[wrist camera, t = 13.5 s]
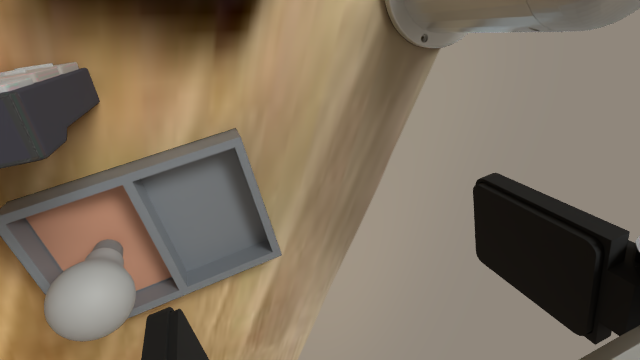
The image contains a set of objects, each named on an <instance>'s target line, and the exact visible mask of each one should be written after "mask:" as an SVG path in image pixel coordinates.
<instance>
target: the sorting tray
mask: <svg viewBox="0 0 640 360" xmlns="http://www.w3.org/2000/svg"><path fill="white" fill-rule="evenodd" d="M0 236H1V237H2V238H3V240H4V241H5V242H6V244H7V245H8V246H9V248H10V249H11V250H12V252H13V253H14V254H15V255H16V257H17V258H18V259H19V261H20V262H21V263H22V265H23V266H24V267H25V269H26V270H27V271H28V273H29V274H30V275H31V276H32V278H33V279H34V280H35V282H36V283H37V284H38V286H39V287H40V288H41V290H42V291H43V292H44V293H45V295H46V293H47V291H48V289H49V288H50V286H51V284H52V282H53V281H54V280H55V279H56V278H57V277H58V276H59V275H60V274H61V273H62V272H64V271H65V270H66V269H68V268H70V267H72V266H74V265H76V264H78V263H80V262H83V261H85V259H86V257H87V256H88V255H89V254H90V253H91V252H92V250H93V248H94V247H95V245H96V244H97V243H98V242H100V241H102V240H106V239H111V240H115V241H117V242H119V243H120V244H121V245H122V247H123V260H124V268H125V269H126V271H127V272H128V273H129V274H130V275H131V277H132V279H133V281H134V284H135V289H136V300H135V304H134V307H133V310H132V311H131V313H130V315H129V317H128V318H130V317H132V316H135V315H137V314H140V313H142V312H145V311H147V310H150V309H152V308H154V307H157V306H159V305H162V304H164V303H167V302H169V301H171V300H174V299H176V298H179V297H181V296H184V295H186V294H189V293H191V292H193V291H196V290H198V289H201V288H203V287H206V286H208V285H210V284H213V283H215V282H218V281H220V280H223V279H225V278H228V277H230V276H232V275H235V274H237V273H240V272H242V271H245V270H247V269H249V268H252V267H254V266H257V265H259V264H262V263H264V262H267V261H269V260H271V259H274V258H276V257H279V256H281V255H282V254H281V251H280V248H279V245H278V243H277V240H276V237H275V234H274V231H273V228H272V225H271V222H270V220H269V217H268V214H267V211H266V208H265V205H264V202H263V200H262V197H261V194H260V191H259V188H258V185H257V182H256V180H255V177H254V174H253V171H252V168H251V165H250V162H249V160H248V157H247V154H246V151H245V148H244V145H243V142H242V140H241V137H240V135H239V133H238V131H237V129H236V128H234V129H231V130H228V131H225V132H222V133H219V134H216V135H213V136H210V137H207V138H204V139H200V140H197V141H194V142H191V143H188V144H185V145H182V146H179V147H176V148H173V149H170V150H166V151H163V152H160V153H157V154H154V155H151V156H148V157H145V158H142V159H139V160H136V161H132V162H129V163H126V164H123V165H120V166H117V167H114V168H111V169H108V170H105V171H102V172H98V173H95V174H92V175H89V176H86V177H83V178H80V179H77V180H74V181H71V182H68V183H64V184H61V185H58V186H55V187H52V188H49V189H46V190H43V191H40V192H37V193H34V194H30V195H27V196H24V197H21V198H18V199H15V200H12V201H9V202H7V203H6V204H5V205H3V206H2V207H1V208H0ZM128 318H127V319H128Z"/></svg>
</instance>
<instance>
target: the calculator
mask: <svg viewBox="0 0 640 360" xmlns="http://www.w3.org/2000/svg"><path fill="white" fill-rule="evenodd" d="M99 102H100V101H99V98H98V95H97V92H96V90H95V87H94V85H93V82H92V79H91V77H90V74H89V72H88V69H87V68H81V69H79V67H78V65H77V63H76V62H73V63H66V64H60V65H53V64H52V63H51V64H44V65H37V66H31V67H24V68H17V69H14V71H13V70H12V71H6V72H1V73H0V169H1V168H6V167H10V166H15V165H20V164H25V163H30V162H34V161H39V160H43V159H45V158H47V157H48V156H50V155H51V154H52V153H53V152H54V151H55V150H56V149H58V148H59V147H60V146H61V145H62V144H63V143H64V142H65V141H66V140H67V127H68V126H70V125H71V124H72V123H73V122H75V121H76V120H77V119H79V118H80V117H81V116H82V115H84V114H85V113H86V112H88V111H89V110H90V109H91V108H93V107H94V106H95V105H97V104H98V103H99Z"/></svg>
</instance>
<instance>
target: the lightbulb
mask: <svg viewBox="0 0 640 360" xmlns="http://www.w3.org/2000/svg"><path fill="white" fill-rule="evenodd" d="M135 300H136V289H135V284H134V281H133V279H132V277H131V275H130V274H129V273H128V272H127V271H126V269H125V268H124V260H123V247H122V245H121V244H120V243H119V242H117V241H115V240H111V239H106V240H102V241H100V242H98V243H97V244H96V245H95V247H94V248H93V250H92V252H91V253H90V254H89V255H88V256H87V257H86V259H85V261H83V262H80V263H78V264H76V265H74V266H72V267H70V268H68V269H66V270H65V271H64V272H62V273H61V274H60V275H59V276H58V277H57V278H56V279H55V280H54V281H53V282H52V284H51V286H50V288H49V289H48V291H47V293H46V297H45V302H44V313H45V317H46V320H47V322H48V324H49V325H50V327H51V328H52V329H53V330H54V331H55V332H56V333H57V334H59V335H60V336H62V337H64V338H67V339H69V340H73V341H91V340H96V339H99V338H102V337H105V336H107V335H108V334H110V333H112V332H114V331H115V330H116V329H118V328H119V327H120V326H121V325H122V324H123V323H124V322H125V321H126V319H127V318H128V317H129V315H130V313H131V311H132V310H133V307H134V304H135Z"/></svg>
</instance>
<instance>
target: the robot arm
mask: <svg viewBox="0 0 640 360" xmlns="http://www.w3.org/2000/svg"><path fill="white" fill-rule="evenodd" d="M385 4H386V7H387V11H388V14H389V17H390V19H391V21H392V23H393V25H394V26H395V28H396V29H397V31H398V32H399V33H400V34H401V35H402V36H403V37H404V38H405V39H406V40H407V41H409V42H411V43H412V44H414V45H417V46H420V47H424V48H442V47H446V46H449V45H452V44H454V43H455V42H457V41H459V40H460V39H462V38H463V37H464V36H465V35H466V34H468V33H479V32H481V33H483V32H563V31H585V30H592V29H597V28H601V27H604V26H607V25H610V24H612V23H615V22H617V21H619V20H621V19H623V18H625V17H627V16H628V15H630V14H632V13H633V12H635V11H636V10H638V9H639V8H640V0H385ZM473 198H474V219H475V239H476V254H477V256H478V258H479V260H480V261H481V262H482V263H484V264H485V265H486V266H487V267H489V268H490V269H491V270H493V271H494V272H495V273H496V274H498V275H499V276H500V277H502V278H503V279H504V280H506V281H507V282H508V283H510V284H511V285H512V286H514V287H515V288H516V289H517V290H519V291H520V292H521V293H523V294H524V295H525V296H526V297H528V298H529V299H531V300H532V301H533V302H534V303H536V304H537V305H538V306H540V307H541V308H542V309H544V310H545V311H546V312H547V313H549V314H550V315H551V316H553V317H554V318H555V319H557V320H558V321H559V322H560V323H562V324H563V325H564V326H566V327H567V328H568V329H570V330H571V331H572V332H574V333H575V334H577V335H579V336H585V337H586V338H587V339H589V340H590V341H591V342H592V343H594V344H597V343H599V342H601V341H602V340H604V339H606V338H608V337H609V336H611V331H613V332H614V333H616V334H617V335H619V337H618V338H616V339H614V340H613V341H611V342H609V343H607V344H606V345H604V346H602V347H600V348H598V349H597V350H595V351H593V352H592V353H590V354H588V355H586V356H584V357H583V358H581V359H579V360H640V236H639V237H638V238H637V240H636V242H635V243H634V242H631V241H629V240H628V238H629V231H627V230H625V229H622V228H620V227H618V226H616V225H613V224H611V223H609V222H607V221H604V220H602V219H600V218H598V217H595V216H593V215H591V214H588V213H586V212H584V211H582V210H579V209H577V208H575V207H573V206H570V205H568V204H566V203H563V202H561V201H559V200H557V199H554V198H552V197H550V196H548V195H545V194H543V193H541V192H539V191H536V190H534V189H532V188H530V187H527V186H525V185H523V184H521V183H518V182H516V181H514V180H511V179H509V178H507V177H505V176H502V175H500V174H498V173H492V174H490V175H488V176H485V177H483V178H480V179H478V180H477V182H476V185H475V186H474V188H473ZM141 360H209V359H208V357H207V355H206V353H205V351H204V350H203V348H202V346H201V344H200V342H199V341H198V339H197V337H196V335H195V333H194V332H193V330H192V328H191V326H190V324H189V323H188V321H187V319H186V317H185V315H184V313H183V312H182V310H181V309H178V310H175V311H174V310H173V309H172V308H171V307H168V308H166V309H163V310H161V311H159V312H156V313H154V314H151V315H149V316H148V317H147V321H146V329H145V336H144V343H143V351H142V358H141Z"/></svg>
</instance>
